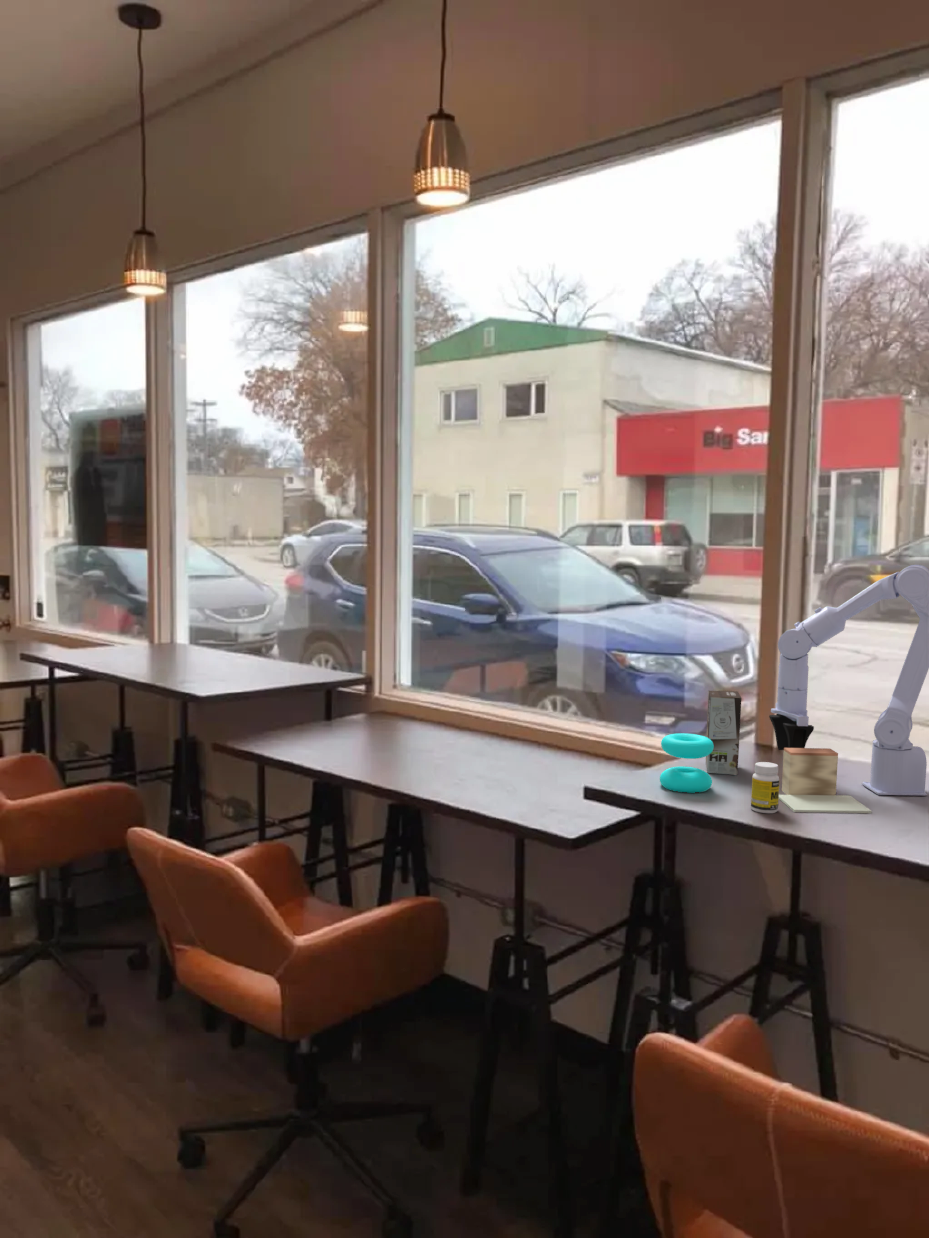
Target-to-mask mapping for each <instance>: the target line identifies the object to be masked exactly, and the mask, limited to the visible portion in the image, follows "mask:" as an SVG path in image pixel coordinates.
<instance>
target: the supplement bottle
mask: <svg viewBox="0 0 929 1238" xmlns="http://www.w3.org/2000/svg"><path fill="white" fill-rule="evenodd" d="M754 763H755V762H754ZM754 772H755V773H753V774H752V776H751V777H752V778H751V795H750V796H751V798H750V808H751V810H752V811H754V812H755V813H756V812H757V813H761V814H762V813H763V814H775V813H777V812H778V811H779V800H780V799H779V795H780V776H779V775H778V773H779V765H778V764H777V763H773V762H768V761H767V762H766V761H760V762H759V761H758V762H756V763H755V764H754Z"/></svg>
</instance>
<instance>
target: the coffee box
mask: <svg viewBox="0 0 929 1238" xmlns="http://www.w3.org/2000/svg"><path fill="white" fill-rule="evenodd" d="M707 694H708V695H707V714H706V716H707V717H706V737H707V738H709V739H710V740H711V741H712V742H713V745H714V748H713V751H712V752H711V753H710V754H709V755H708V756H706V757H705V768H706V772H707V773H708V774H717V775H718V774H719V775H729V776H730V775H732V776H737V775H738V769H739V753H740V734H741V732H740V731H741V718H742V717H741V714H742V697H741V695H740V693H739V691H737V690H736V691H735V690H708V691H707Z"/></svg>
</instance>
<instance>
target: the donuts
mask: <svg viewBox="0 0 929 1238" xmlns="http://www.w3.org/2000/svg"><path fill="white" fill-rule="evenodd" d="M660 746H661V748H662V750H663V752H665V753H666V754H667V755H669V756H671V757H674V758H679V759H687V760H689V759H690V760H696V759H703V758H706V756H708V755H709V754H710V753H711V752H712V751H713V748H714V745H713V742H712V741H711V740H710V739H709V738H707V736H705V735H702V734H701V735H700V734H696V733H687V732H685V733H683V732H682V733H681V732H680V733H679V732H678V733H670V734H667V735H665V736H663V737H662V739H661V741H660ZM659 782H660V785H662V786H663V787H664V788H665V789H666V790H670V791H672V790H673V792H676V791H678V792H677V793H682V792H687V793H686V794H696V793H695V792H699V793H703V792H706V791H708V790H709V789H710V788H711V787H712V784H713V779H712V776H711V775H710V773H707V771H704V770H703V769H701V768H699V767H692V766H672V767H669V768H667V769H665V770H664V771H662V772H661V773H660V776H659Z"/></svg>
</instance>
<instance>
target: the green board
mask: <svg viewBox="0 0 929 1238" xmlns="http://www.w3.org/2000/svg"><path fill="white" fill-rule="evenodd" d="M778 800H779V801H780V802H782V803H783V804H784V805H785V806H786V807H788V808H789V809H790V810H791V811H792V812H793V813H830V814H831V813H834V814H835V813H836V814H837V813H838V814H839V813H840V814H843V813H845V814H872V811H873V810H871V809H870V808H869V807H867V806H866V805H864V804H862V803H861V802H860V801H858V800H857V799H855V798H854V797H853V796H851V795H843V794H842V795H786V794H779V799H778Z"/></svg>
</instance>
